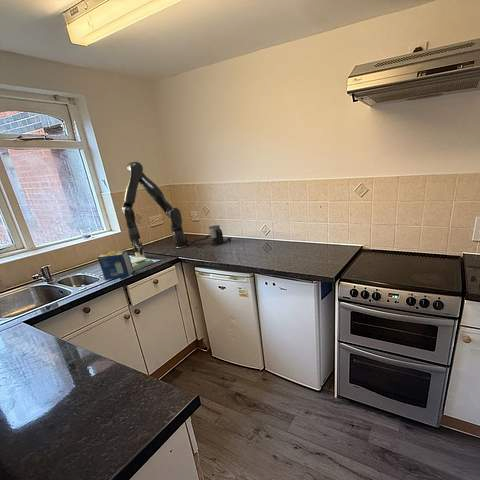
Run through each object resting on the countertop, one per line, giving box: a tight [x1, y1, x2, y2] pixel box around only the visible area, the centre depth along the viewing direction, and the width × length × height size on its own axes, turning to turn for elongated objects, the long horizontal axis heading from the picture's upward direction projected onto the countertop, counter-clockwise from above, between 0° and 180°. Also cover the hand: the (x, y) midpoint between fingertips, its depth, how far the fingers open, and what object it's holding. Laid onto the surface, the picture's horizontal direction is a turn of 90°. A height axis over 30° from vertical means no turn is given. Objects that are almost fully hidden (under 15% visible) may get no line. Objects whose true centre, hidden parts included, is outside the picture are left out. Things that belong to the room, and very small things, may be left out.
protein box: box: [96, 249, 135, 280], centre depth 196 cm, size 10×15×16 cm
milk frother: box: [208, 224, 233, 246], centre depth 248 cm, size 14×16×15 cm
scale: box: [130, 257, 153, 270], centre depth 218 cm, size 14×17×3 cm
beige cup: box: [134, 250, 146, 258], centre depth 232 cm, size 6×6×5 cm
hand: (139, 253), depth 231 cm, fingers open, 8 cm apart
